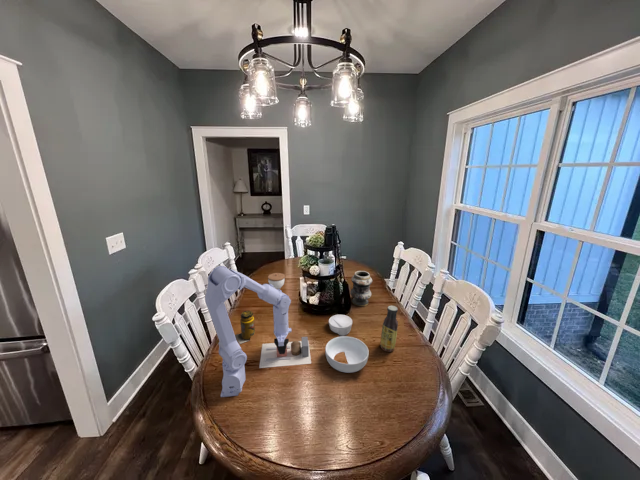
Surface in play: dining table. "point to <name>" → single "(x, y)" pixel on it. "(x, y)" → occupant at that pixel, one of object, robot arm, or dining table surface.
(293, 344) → the walnut
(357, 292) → the apothecary jar
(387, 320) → the sauce bottle
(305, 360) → the press base
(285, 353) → the pinkish red block
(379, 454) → the dining table surface
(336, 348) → the cereal bowl
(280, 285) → the lidded jar
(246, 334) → the condiment
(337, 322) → the ramekin
